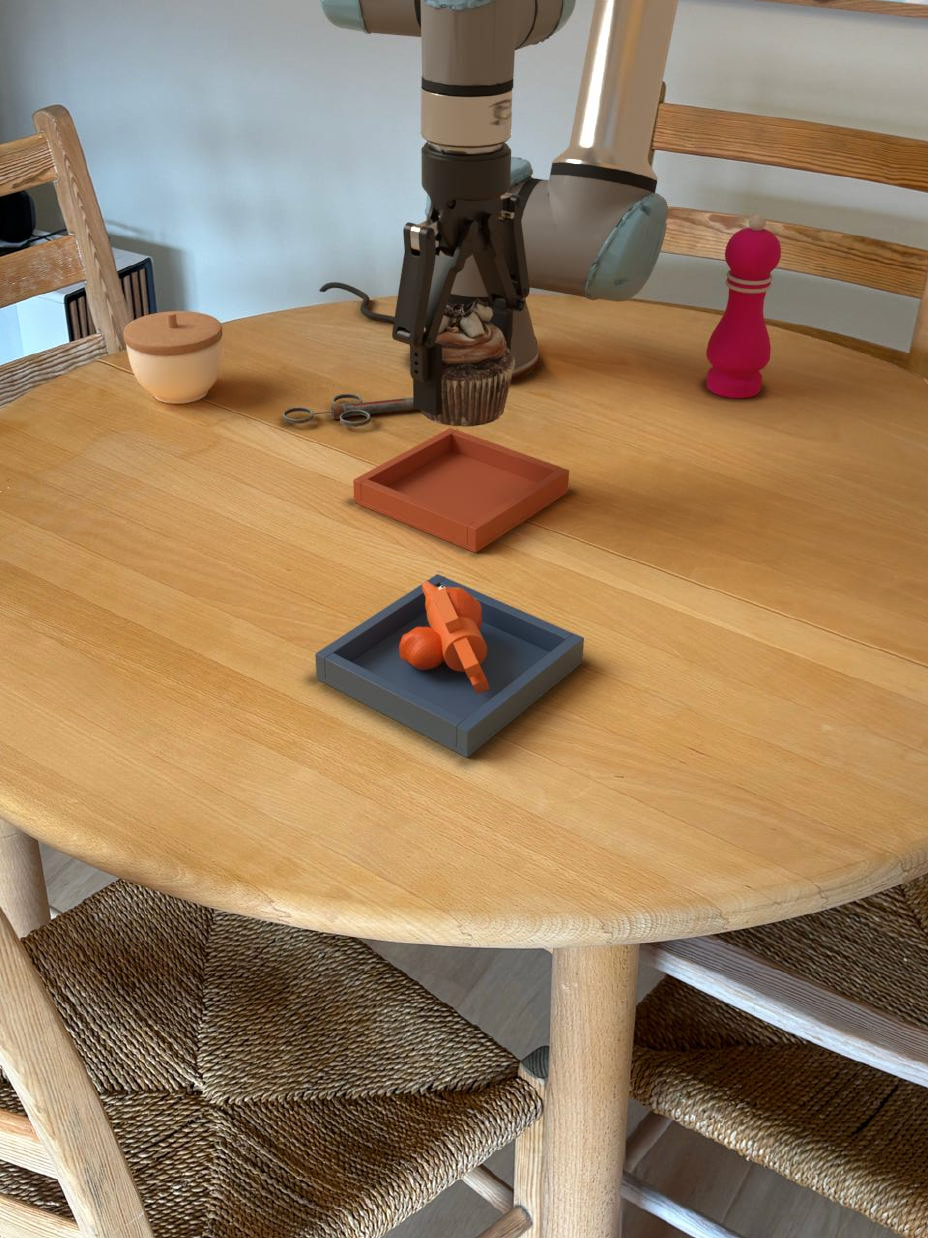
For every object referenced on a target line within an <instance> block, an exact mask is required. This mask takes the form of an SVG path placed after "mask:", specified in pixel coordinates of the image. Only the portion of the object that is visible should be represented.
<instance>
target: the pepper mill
mask: <svg viewBox="0 0 928 1238" xmlns="http://www.w3.org/2000/svg"><path fill="white" fill-rule="evenodd" d="M766 222H767V220H766V217H764V216H763V215H761V214H754V215H752V216H751V217H750V219H749V221H748V226H749V227H745V228H742V229H740V230H738V231H736V232H735V233H734V234H732V235H731V236H730V238H729V240H728V241H727V243H726V247H725V250H724V260H725V263H726V264H727V266H728V267H729V270H727V272H726V280H725V286H726V287H727V288H728V298H727V302H726V303H727V304H726V307H725V310H724V313H723V315H722V317H721V319H720V320H719V322H718V323H717V325H716V326H715V328H714V330H713V331H712V333H711V335H710V337H709V339H708V342H707V346H706V350H705V354H706V355H705V356H706V358H707V361H708V362H709V364H710V365H711V366H712V367H710V368H709V369H708V370H707V376H706V384H705V385H706V389H707V390H708V391H710V392H711V393H713V394H715V395H717V396H720V397H723V398H731V399H748V398H752V397H755V396H757V395H758V394H759V393H760V391H761V390H762V382H763V375H762V372H761V371H762V370H763V369H764V368H765V367H766V366H767V365H768V364H769V362H770V359H771V353H772V351H771V350H772V345H771V338H770V336H769V332H768V328H767V324H766V321H765V316H764V307H765V306H764V304H765V298H766V294H767V292H769V291H770V290H771V288H772V281H773V278H774V277H773V275H772V272H773V270H775V269H776V268H777V267H778V265H779V264H780V261H781V258H782V247H781V243H780V240H779V239H778V237H777V236H776V235H775V234H774V233H773V232H771V231H770V230H768V229H765V228H766V225H767V223H766Z"/></svg>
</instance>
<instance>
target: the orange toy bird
mask: <svg viewBox="0 0 928 1238" xmlns="http://www.w3.org/2000/svg"><path fill="white" fill-rule="evenodd" d="M421 584H422V590H423V592H424V595H425V597H426V602H425V608H426V611H427V619H428V622H429V624H430V627H431V628H429V627H416V628H414V629H413V630H411V631H410V632H408V633H406V634H404V635H403V636H402V639H401V642H400V645H399V650H400V657H401V658H402V659H403V660H404V661H405V662H406V663H407V664H408V665H410V666H413V667H415V668H416V669H419V670H428V669H432V668H435V667H437V666H439V665H440V664H441V663H442V662H443V661H444V660H445V662H446V664H447V665H448V666H449V667H450V668H451V669H453V670H455V671H466V674H467V676H468V678H470V680H471V682H472V685H473V687H474V689H475V691H476V694H479V693H482V692H484V691H486V690H489V689H490V687H489V684H488V682H487V679H486V677H485V675H484V673H483V671H482V669H481V666H480V664H481V663H482V662H483V660H484V659H485V657H486V654H487V646H486V643H485V641H484V639H483V637H482V635H481V633H480V631H479V629H480V627H481V625H482V609H481V605H480V603H479V601H478V600H476V599H475V598H473V596H472V595H470V594H469V593H467V592H466V591H465V590H464V589H462V588H459V587H445V586H440V587H436V586H434V585H432V584H431V583H430V582H428V581H427V580H426V581H423V582H422V583H421Z"/></svg>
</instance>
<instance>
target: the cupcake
mask: <svg viewBox="0 0 928 1238" xmlns="http://www.w3.org/2000/svg"><path fill="white" fill-rule="evenodd" d="M492 315H493V312H492V309H491V308H489V307H488V303H484V302H482V301H481V300H479V299H476V301H474V302H471V303H470V304H468V305H467V306H466V307H465V306H464V304H455V305H452V304H450V303H447V306H446V309H445V313H444V316H443V319H442V322H441V325H440V328H439V332H438V335H437V338H436V341H435V343H438V344H442V413H441V414H439V415H437V416H435V415H432V414H429V413H427V412H424V411H421V410H420V412H421V414H422V415H424V416H425V417H426V418H427V419H428V420H430V421H432V422H435V423H437V424H440V425H445V426H451V427H464V428H465V427H466V428H468V427H477V426H484V425H487V424H490V423H492V422H495V421H496V420H497V421H498V419H499V418H500V417H501V416H502V415H503V414H504V413H505V408H506V404H507V398H508V394H509V390H510V386H511V382H512V381H511V378H512V374H513V370H514V367H515V360H514V357H513V355H511V353H510V350H509V349H508V348H507V347H506V341H505V338H504V335H503V333H502V332H501V330H500V329H499V328H498V327H496V326H495V325H493V324H492V323H489V321H490V320H491V318H492ZM425 331H426V329H425V327H424V332H425Z"/></svg>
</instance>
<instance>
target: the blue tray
mask: <svg viewBox="0 0 928 1238" xmlns="http://www.w3.org/2000/svg"><path fill="white" fill-rule="evenodd" d="M426 581H428V582H430V583H431V584H432V585H434V586H436V587H440V586H445V587H459V588H462V589H464V590H465V591H466V592H467V593H469V594H470V595H472V596H473V598H475V599H476V600H478V601H479V603H480V605H481V609H482V625H481V627H480V629H479V631H480V633H481V635H482V637H483V639H484V641H485V643H486V646H487V654H486V657H485V659H484V660H483V662H482V663H481V664H480V666H481V669H482V671H483V673H484V675H485V677H486V679H487V682H488V684H489V687H490V689H489V690H486V691H484V692H482V693H479V694H476V691H475V689H474V687H473V685H472V682H471V680H470V678H468V676H467V674H466V671H455V670H453V669H451V668H450V667H449V666H448V665H447V664H446V662H445V660H444V661H443V662H442V663H441V664H440V665H439V666H437V667H435V668H432V669H428V670H419V669H416V668H415V667H413V666H410V665H408V664H407V663H406V662H405V661H404V660H403V659H402V658H401V657H400V650H399V645H400V642H401V639H402V636H403V635H404V634H406V633H408V632H410V631H411V630H413V629H414V628H416V627H429V628H431V627H430V624H429V622H428V619H427V611H426V608H425V602H426V597H425V595H424V592H423V590H422V583H421V584H419V585H418V586H417V587H415V588H413V589H412V590H410V591H409V592H407V593H406V594H404V595H402V596H401V597H400V598H398V599H396V600H395V601H393V602H392V603H390V604H389V605H387V606H386V607H385V608H383V609H381V610H380V611H378V612H377V613H375V614H373V615H372V616H370V617H369V618H367V619H366V620H364V621H363V622H361V623H360V624H359V625H357V626H355V627H353V628H352V629H351V630H349V631H348V632H346V633H344V634H343V635H341V636H340V637H339V638H337V639H335V640H334V641H332V642H331V643H329V644H328V645H326V646H324V647H323V648H322V649H320V650H318V651H317V652H315V654H314V658H315V670H316V680H318V681H319V682H321V683H324V684H326V685H327V686H329V687H330V688H333V689H335V690H336V691H339V692H341V693H342V694H344V695H347V696H348V697H350V698H352V699H354V700H356V701H358V702H360V703H361V704H364V705H366V706H367V707H369V708H371V709H372V710H375V711H377V712H379V713H381V714H383V716H387V717H388V718H390V719H392V720H394V721H396V722H398V723H400V724H402V725H404V726H405V727H406V728H407V727H408V728H409V729H412V730H413V731H415V732H417V733H419V734H420V735H422V736H425V737H427V738H428V739H431V740H433V742H436V743H438V744H440V745H442V746H444V747H446V748H447V749H449V750H451V751H453V752H455V753H457V754H459V755H461V756H462V757H464V758H466V759H467V758H470V757H471V756H472V754H474V753H475V752H476V751H478V750H479V749H480V748H481V747H482V746H484V745H485V744H486V743H487V742H489V740H491V739H492V738H493V737H494V736H495V735H497V734H498V733H499V732H500V731H502V730H503V729H504V728H505V727H506V726H508V725H509V724H510V723H511V722H512V721H514V720H515V719H516V718H517V717H519V716H520V715H521V714H523V712H525V711H526V710H527V709H529V708H530V707H531V706H532V705H533V704H534V703H535V702H537V701H538V700H539V699H540V698H542V697H543V696H544V695H545V694H547V693H548V692H549V691H550V690H551V689H553V687H555V686H556V685H558V684H559V683H560V682H561V681H562V680H564V678H566V677H567V676H568V675H570V674H571V673H572V672H573V671H574V670H575V669H577V668H578V667H579V666H580V665H582V664H583V658H584V645H585V637H583V636H581V635H579V634H577V633H574V632H571V631H570V630H567V629H565V628H562V627H560V626H557V625H555V624H553V623H551V622H549V621H547V620H545V619H542V618H540V617H537V616H536V615H532V614H530V613H528V612H526V611H523V610H521V609H519V608H517V607H514V606H512V605H510V604H508V603H505V602H503V601H501V600H498V599H496V598H493V597H491V596H489V595H487V594H485V593H482V592H480V591H478V590H476V589H473V588H470V587H468V586H466V585H463V584H461V583H459V582H457V581H454V580H452V579H450V578H448V577H446V576H444V575H441V574H439V573H436V574H435V575H434V576H432V577H430V578H429V579H427V580H426Z"/></svg>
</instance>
